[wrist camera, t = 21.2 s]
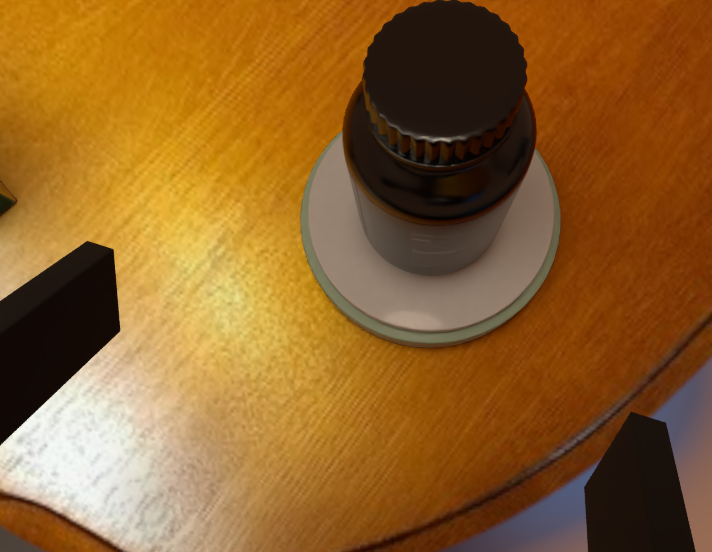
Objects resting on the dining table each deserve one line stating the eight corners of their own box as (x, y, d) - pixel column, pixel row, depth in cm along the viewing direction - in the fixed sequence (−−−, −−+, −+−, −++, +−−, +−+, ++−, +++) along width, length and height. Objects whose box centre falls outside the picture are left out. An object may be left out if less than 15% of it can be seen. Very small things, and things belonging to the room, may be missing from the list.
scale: (558, 126, 32) (573, 99, 29) (542, 363, 29) (556, 359, 26) (325, 106, 33) (318, 78, 30) (288, 330, 30) (277, 323, 28)
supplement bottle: (520, 173, 28) (603, 9, 17) (469, 300, 27) (519, 219, 15) (391, 126, 29) (383, -59, 18) (336, 246, 28) (289, 132, 17)
